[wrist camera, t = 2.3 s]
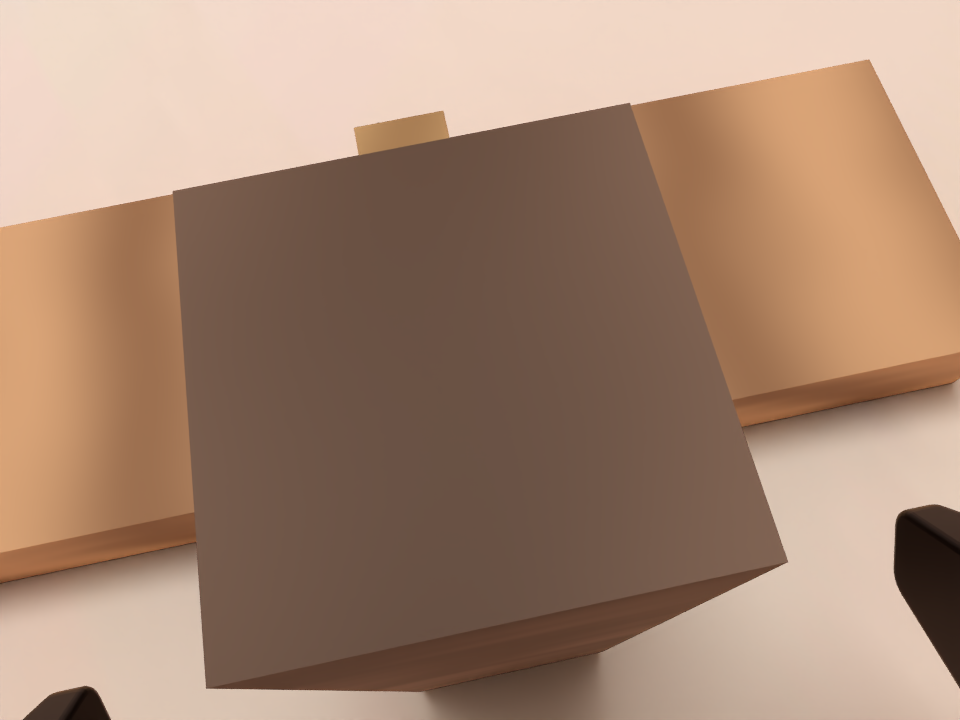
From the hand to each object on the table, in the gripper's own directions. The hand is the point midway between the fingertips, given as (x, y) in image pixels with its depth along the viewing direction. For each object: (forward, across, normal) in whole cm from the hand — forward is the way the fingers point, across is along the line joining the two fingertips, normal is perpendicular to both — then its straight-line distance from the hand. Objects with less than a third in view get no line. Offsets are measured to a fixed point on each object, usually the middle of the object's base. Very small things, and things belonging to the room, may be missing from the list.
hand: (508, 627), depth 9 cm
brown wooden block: (+10, 0, +3) cm, 11 cm away
